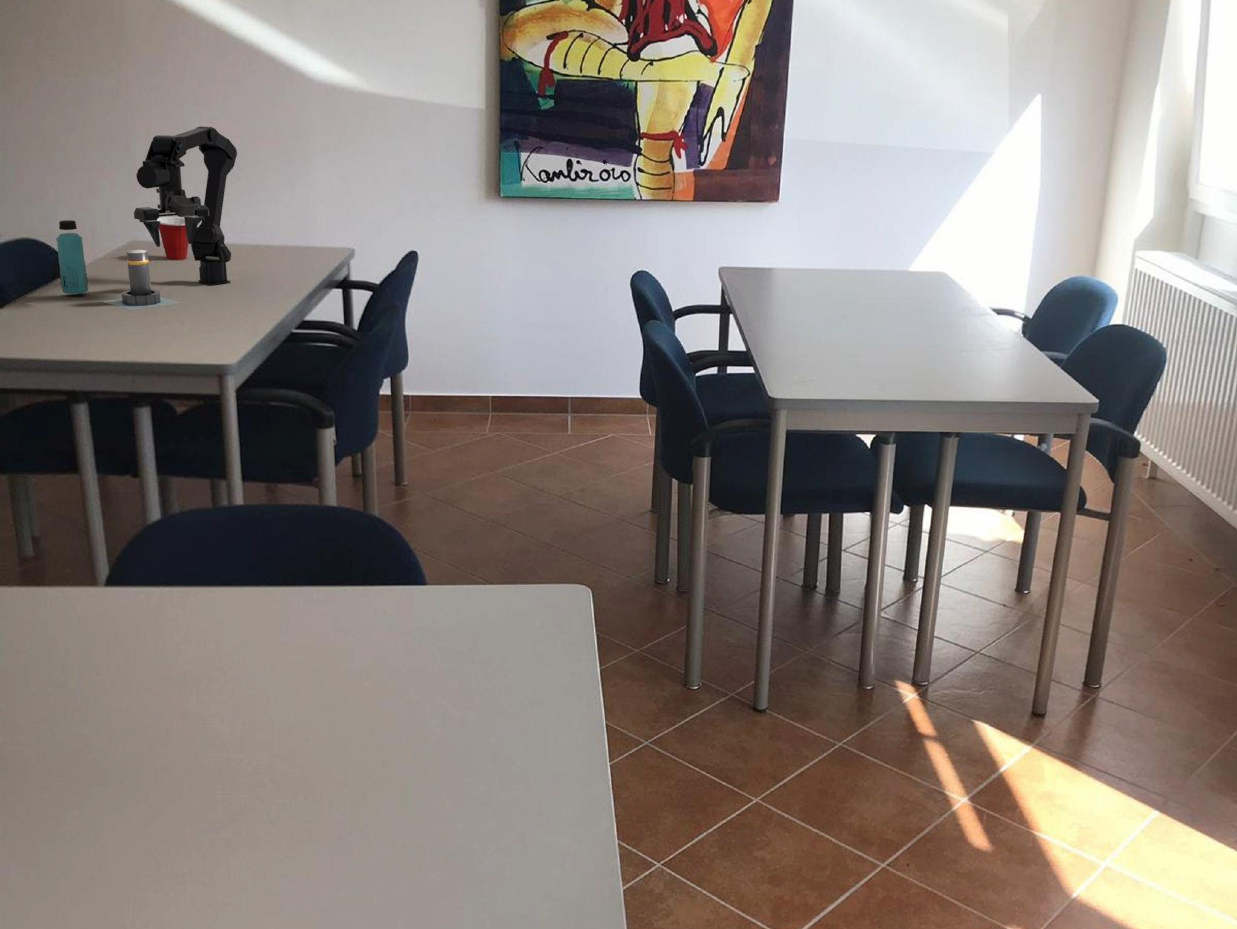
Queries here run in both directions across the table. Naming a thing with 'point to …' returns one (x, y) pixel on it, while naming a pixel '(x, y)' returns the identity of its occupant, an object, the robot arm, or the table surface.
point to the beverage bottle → (71, 260)
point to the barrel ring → (141, 298)
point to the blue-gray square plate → (119, 304)
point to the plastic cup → (174, 237)
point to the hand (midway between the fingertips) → (174, 245)
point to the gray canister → (138, 272)
